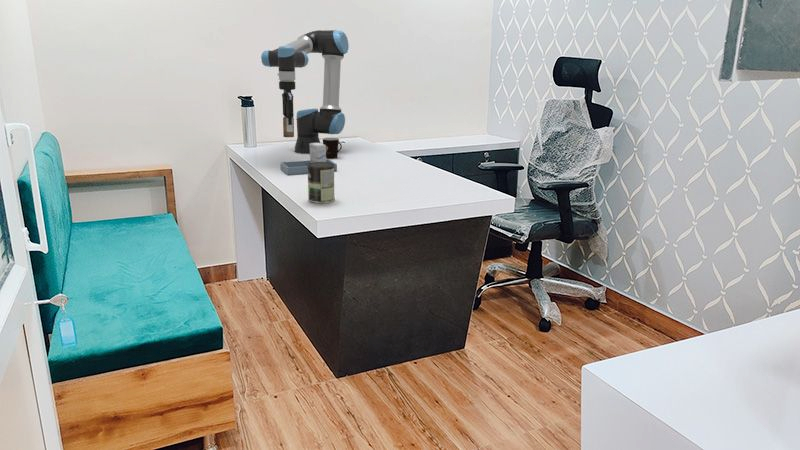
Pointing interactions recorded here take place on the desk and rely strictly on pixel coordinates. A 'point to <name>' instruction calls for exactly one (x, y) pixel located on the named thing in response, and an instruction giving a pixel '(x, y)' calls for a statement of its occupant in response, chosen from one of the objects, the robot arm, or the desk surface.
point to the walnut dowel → (285, 133)
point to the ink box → (317, 152)
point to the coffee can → (321, 182)
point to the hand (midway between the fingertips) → (288, 130)
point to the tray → (299, 167)
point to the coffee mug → (331, 147)
